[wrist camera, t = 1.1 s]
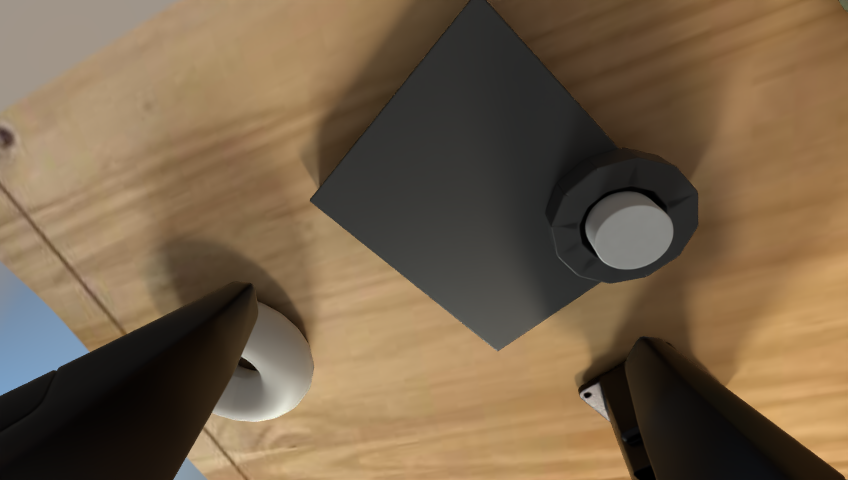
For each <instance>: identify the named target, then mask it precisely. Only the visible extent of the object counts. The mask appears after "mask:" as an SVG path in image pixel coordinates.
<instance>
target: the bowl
mask: <svg viewBox="0 0 848 480" xmlns="http://www.w3.org/2000/svg"><path fill="white" fill-rule="evenodd" d="M838 1H839V2H840V4H841V6H842V7H843V9H844V10H846V11H847V12H848V0H838Z"/></svg>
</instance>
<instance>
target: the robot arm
mask: <svg viewBox="0 0 848 480" xmlns="http://www.w3.org/2000/svg"><path fill="white" fill-rule="evenodd" d="M257 318H258V303H257V297H256V290H255V287H254V285H253V284H251V283H246V282H238V281H237V282H233V283H230V284H228V285H226V286H224V287H222V288H220V289H218V290H216V291H214V292H212V293H210V294H208V295H206V296H204V297H202V298H200V299H198V300H196V301H194V302H192V303H190V304H187V305H185V306H183V307H181V308H179V309H177V310H175V311H173V312H171V313H169V314H167V315H165V316H163V317H161V318H159V319H157V320H155V321H153V322H151V323H149V324H147V325H145V326H143V327H141V328H139V329H137V330H134V331H132V332H130V333H128V334H126V335H124V336H122V337H120V338H118V339H116V340H114V341H112V342H110V343H108V344H106V345H104V346H102V347H100V348H98V349H96V350H94V351H92V352H90V353H88V354H86V355H83V356H81V357H79V358H77V359H75V360H73V361H71V362H69V363H67V364H65V365H63V366H61V367H59V368H58V370H57V371H55V370H53V371H51V372H49V373H47V374H45V375H42V376H41V377H38V378H36V379H34V380H32V381H30V382H28V383H26V384H24V385H22V386H20V387H18V388H16V389H14V390H11V391H9V392H7V393H5V394H3V395H1V396H0V480H173V479H174V477H175V476H176V474H177V472H178V471H179V469H180V467H181V465H182V463H183V462H184V460H185V458H186V457H187V455H188V453H189V451H190V450H191V448H192V446H193V444H194V443H195V441H196V439H197V437H198V436H199V434H200V432H201V431H202V429H203V427H204V425H205V424H206V422H207V420H208V418H209V417H210V415H211V413H212V411H213V410H214V408H215V406H216V404H217V403H218V401H219V399H220V397H221V396H222V394H223V392H224V390H225V389H226V387H227V385H228V383H229V381H230V380H231V378H232V375H233V373H234V371H235V369H236V367H237V365H238V362H239V360H240V358H241V355H242V353H243V351H244V349H245V346H246V344H247V342H248V339H249V337H250V335H251V333H252V330H253V328H254V326H255V323H256V321H257ZM578 392H579V395H580V397H581V399H583V400H584V401H585V402H586V403H588V404H589V405H590V406H591V407H592V408H594V409H595V410H596V411H597V412H598V413H600V414H601V415H602V416H603V417H605V418H606V419H607V420H608V421H609V422H611V425H612V428H613V430H614V433H615V436H616V438H617V441H618V444H619V447H620V449H621V452H622V455H623V457H624V460H625V463H626V465H627V468H628V471H629V474H630V476H631V479H632V480H846V479H845V477H844V476H843V475H842V474H841V473H839V472H838V471H837V470H835V469H834V468H833V467H831V466H830V465H829V464H827V463H826V462H825V461H823V460H822V459H821V458H819V457H818V456H817V455H815V454H814V453H813V452H811V451H810V450H809V449H807V448H806V447H805V446H803V445H802V444H801V443H799V442H798V441H797V440H795V439H794V438H793V437H791V436H790V435H789V434H787V433H786V432H785V431H783V430H782V429H781V428H779V427H778V426H777V425H775V424H774V423H773V422H771V421H770V420H769V419H767V418H766V417H765V416H763V415H762V414H761V413H759V412H758V411H757V410H755V409H754V408H753V407H751V406H750V405H749V404H747V403H746V402H744V401H743V400H742V399H740V398H739V397H738V396H736V395H735V394H734V393H732V392H731V391H730V390H728V389H727V388H726V387H724V386H723V385H722V384H720V383H719V382H718V381H716V380H715V379H714V378H712V377H711V376H710V375H708V374H707V373H706V372H704V371H703V370H702V369H700V368H699V367H698V366H696V365H695V364H694V363H692V362H691V361H690V360H688V359H687V358H686V357H684V356H683V355H682V354H680V353H679V352H678V351H677V350H676V349H675V348H674V347H673V346H672V345H671V344H669V343H667V342H664V341H663V340H662V339H659V338H654V337H646V336H642V337H640V338H639V339H638V340H637V341H636V343H635V345H634V347H633V349H632V350H631V352H630V354H629V356H628V358H627V360H626V362H624V363H622V364H620V365H618V366H617V367H615V368H613V369H611V370H609V371H607V372H606V373H604V374H602V375H600V376H598V377H597V378H595V379H593V380H591V381H589V382H588V383H586V384H584V385H582V386H581V387H579V389H578ZM586 392H587V393H586Z"/></svg>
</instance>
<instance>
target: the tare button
mask: <svg viewBox="0 0 848 480" xmlns="http://www.w3.org/2000/svg"><path fill="white" fill-rule="evenodd" d="M585 232H586V236H587V238H588V240H589V241H590V243H591V245H592V246H593V248H594V250H595V251H596V253H597V255H598V256H599V258H600V259H601V260H602V261H603V262H604V263H606V264H607V265H609V266H612V267H615V268H618V269H636V268H640V267H643V266H646V265H648V264H650V263H652V262H654V261H655V260H657V259H658V258H659V257H661V256H662V255H663V254H664V253H665V251H666V250H667V249H668V247H669V245H670V244H671V241H672V238H673V224H672V221H671V219H670V217H669V216H668V215H667V214H666V213H665V212H664V211H663V210H662V209H661V208H660V207H659V206H657V205H656V204H655V203H654V202H653V201H652V200H651V199H649V198H648V197H647V196H645V195H643V194H641V193H637V192H631V191H625V192H618V193H614V194H611V195H609V196H607V197H605V198H603V199H602V200H600V201H599V202H598V203H597V204H596V205H595V206H594V207H593V208H592V209H591V211H590V213H589V214H588V217H587V219H586V223H585Z"/></svg>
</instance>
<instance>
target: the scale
mask: <svg viewBox="0 0 848 480" xmlns="http://www.w3.org/2000/svg"><path fill="white" fill-rule="evenodd" d="M625 191H631V192H637V193H641V194H643V195H645V196H647V197H648V198H649V199H651V200H652V201H653V202H654V203H655V204H656V205H657V206H659V207H660V208H661V209H662V210H663V211H664V212H665V213H666V214H667V215H668V216H669V217H670V219H671V221H672V224H673V238H672V241H671V244H670V245H669V247H668V249H667V250H666V251H665V253H664V254H663V255H662V256H661V257H659V258H658V259H657V260H655V261H654V262H652V263H650V264H648V265H646V266H643V267H640V268H636V269H618V268H615V267H612V266H609V265H607V264H606V263H604V262H603V261H602V260H601V259H600V258H599V256H598V255H597V253H596V251H595V250H594V248H593V246H592V245H591V243H590V241H589V240H588V238H587V236H586V232H585V223H586V219H587V217H588V214H589V213H590V211H591V209H592V208H593V207H594V206H595V205H596V204H597V203H598V202H599V201H600V200H602V199H603V198H605V197H607V196H609V195H611V194H614V193H618V192H625ZM310 202H312V203H313V204H314V205H315V206H317V207H318V208H319V209H320V210H322V211H323V212H324V213H325V214H327V215H328V216H329V217H330V218H332V219H333V220H334V221H335V222H337V223H338V224H339V225H340V226H342V227H343V228H344V229H345V230H347V231H348V232H349V233H350V234H352V235H353V236H354V237H355V238H357V239H358V240H359V241H360V242H362V243H363V244H364V245H365V246H367V247H368V248H369V249H370V250H372V251H373V252H374V253H375V254H377V255H378V256H379V257H380V258H382V259H383V260H384V261H385V262H387V263H388V264H389V265H390V266H392V267H393V268H394V269H395V270H397V271H398V272H399V273H400V274H402V275H403V276H404V277H405V278H407V279H408V280H409V281H410V282H412V283H413V284H414V285H415V286H417V287H418V288H419V289H420V290H422V291H423V292H424V293H425V294H427V295H428V296H429V297H430V298H432V299H433V300H434V301H435V302H437V303H438V304H439V305H440V306H442V307H443V308H444V309H445V310H447V311H448V312H449V313H450V314H452V315H453V316H454V317H455V318H457V319H458V320H459V321H460V322H462V323H463V324H464V325H465V326H466V327H468V328H469V329H470V330H471V331H473V332H474V333H475V334H476V335H478V336H479V337H480V338H481V339H483V340H484V341H485V342H486V343H488V344H489V345H490V346H491V347H493V348H494V349H495V350H496V351H499V350H501V349H502V348H504V347H505V346H507V345H508V344H510V343H511V342H513V341H514V340H516V339H517V338H519V337H520V336H521V335H523V334H524V333H526V332H527V331H529V330H530V329H532V328H533V327H535V326H536V325H538V324H539V323H541V322H542V321H544V320H545V319H547V318H548V317H550V316H551V315H553V314H554V313H556V312H557V311H559V310H560V309H562V308H563V307H565V306H566V305H568V304H569V303H571V302H572V301H574V300H575V299H577V298H578V297H580V296H581V295H583V294H584V293H585V292H587V291H588V290H590V289H591V288H593V287H594V286H596V285H597V284H599V283H600V282H605V283H609V284H610V283H617V282H622V281H627V280H633V279H638V278H643V277H646V276H649V275H650V274H652V273H653V272H655V271H656V270H658V269H660V268H661V267H663V266H664V265H666V264H667V263H669V262H670V261H672V260H674V259H675V258H677V257H678V256H679V255H680V254H681V252H682V251H683V249H684V247H685V246H686V244H687V243H688V241H689V240H690V238H691V237H692V235H693V233H694V232H695V230H696V229H697V227H698V192H697V190H696V189H695V188H694V187H693V185H692V184H691V183H690V182H689V181H688V180H687V178H686V177H685V176H684V175H683V174H682V173H681V171H680V170H679V169H678V168H677V167H676V166H674V165H673V164H671V163H669V162H668V161H666V160H664V159H663V158H661V157H659V156H657V155H653V154H649V153H645V152H641V151H636V150H632V149H628V148H620V149H619V148H618V147H617V146H616V145H615V144H614V142H613V141H612V140H611V139H610V138H609V137H608V136H607V135H606V134H605V132H604V131H603V130H602V129H601V128H600V127H599V126H598V125H597V123H596V122H595V121H594V120H593V119H592V118H591V117H590V116H589V115H588V113H587V112H586V111H585V110H584V109H583V108H582V107H581V106H580V104H579V103H578V102H577V101H576V100H575V99H574V98H573V97H572V96H571V94H570V93H569V92H568V91H567V90H566V89H565V88H564V87H563V85H562V84H561V83H560V82H559V81H558V80H557V79H556V78H555V77H554V75H553V74H552V73H551V72H550V71H549V70H548V69H547V68H546V66H545V65H544V64H543V63H542V62H541V61H540V60H539V59H538V58H537V56H536V55H535V54H534V53H533V52H532V51H531V50H530V49H529V48H528V46H527V45H526V44H525V43H524V42H523V41H522V40H521V39H520V37H519V36H518V35H517V34H516V33H515V32H514V31H513V30H512V29H511V27H510V26H509V25H508V24H507V23H506V22H505V21H504V20H503V18H502V17H501V16H500V15H499V14H498V13H497V12H496V11H495V10H494V8H493V7H492V6H491V5H490V4H489V3H488V2H487V1H486V0H470V1H469V2H468V3H467V5H466V6H465V7H464V8H463V10H462V11H461V12H460V13H459V15H458V16H457V17H456V18H455V20H454V21H453V22H452V23H451V25H450V26H449V27H448V28H447V30H446V31H445V32H444V33H443V34H442V36H441V37H440V38H439V39H438V41H437V42H436V43H435V44H434V46H433V47H432V48H431V49H430V51H429V52H428V53H427V54H426V56H425V57H424V58H423V59H422V61H421V62H420V63H419V64H418V66H417V67H416V68H415V69H414V71H413V72H412V73H411V74H410V76H409V77H408V78H407V79H406V81H405V82H404V83H403V84H402V86H401V87H400V88H399V89H398V91H397V92H396V93H395V94H394V96H393V97H392V98H391V99H390V100H389V102H388V103H387V104H386V105H385V107H384V108H383V109H382V110H381V112H380V113H379V114H378V115H377V117H376V118H375V119H374V120H373V122H372V123H371V124H370V125H369V127H368V128H367V129H366V130H365V132H364V133H363V134H362V135H361V137H360V138H359V139H358V140H357V142H356V143H355V144H354V145H353V147H352V148H351V149H350V150H349V152H348V153H347V154H346V155H345V157H344V158H343V159H342V160H341V162H340V163H339V164H338V165H337V166H336V168H335V169H334V170H333V171H332V173H331V174H330V175H329V176H328V178H327V179H326V180H325V181H324V183H323V184H322V185H321V186H320V188H319V189H318V190H317V191H316V193H315V194H314V195H313V196H312V198H311V199H310Z"/></svg>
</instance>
